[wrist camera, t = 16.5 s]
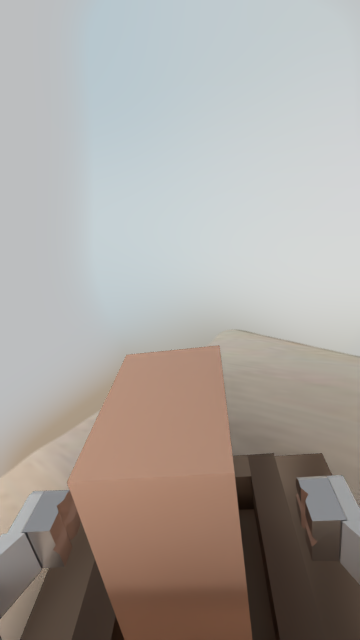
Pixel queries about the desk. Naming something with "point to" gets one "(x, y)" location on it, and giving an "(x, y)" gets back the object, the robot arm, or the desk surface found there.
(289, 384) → the desk surface
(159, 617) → the keyed block
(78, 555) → the keyed holder
